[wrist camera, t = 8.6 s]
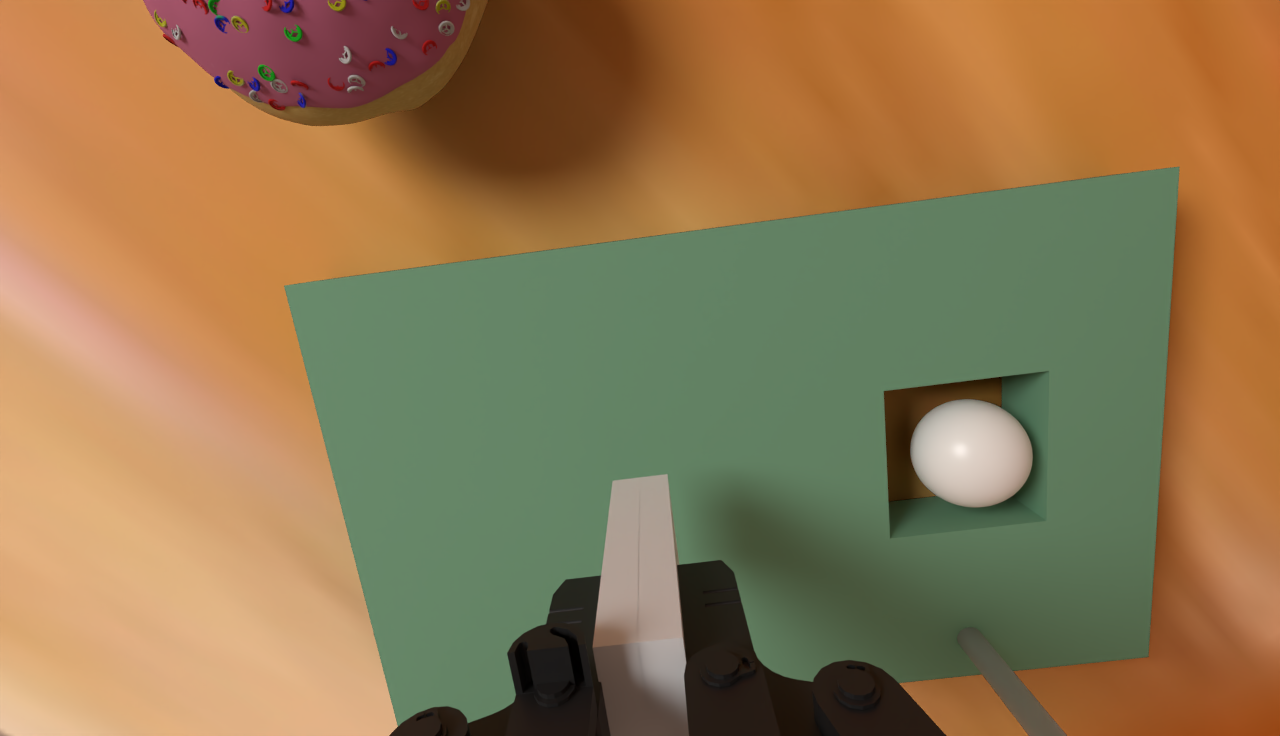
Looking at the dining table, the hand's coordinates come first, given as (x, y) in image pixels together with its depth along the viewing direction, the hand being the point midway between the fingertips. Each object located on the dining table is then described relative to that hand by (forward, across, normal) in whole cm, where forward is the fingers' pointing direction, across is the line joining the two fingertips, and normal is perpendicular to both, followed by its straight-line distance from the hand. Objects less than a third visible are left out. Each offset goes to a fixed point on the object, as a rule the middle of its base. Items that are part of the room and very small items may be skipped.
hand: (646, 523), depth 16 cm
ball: (+4, +10, -1) cm, 11 cm away
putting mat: (+5, +3, -1) cm, 6 cm away
